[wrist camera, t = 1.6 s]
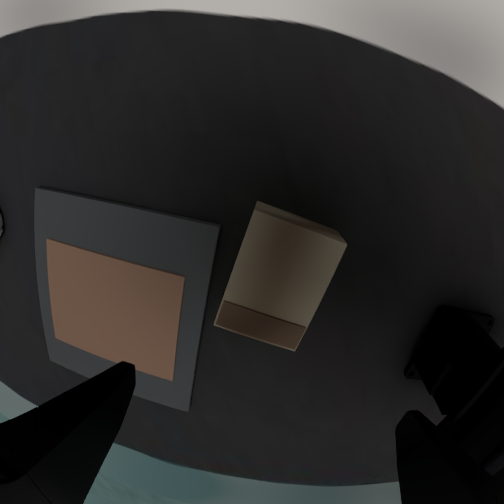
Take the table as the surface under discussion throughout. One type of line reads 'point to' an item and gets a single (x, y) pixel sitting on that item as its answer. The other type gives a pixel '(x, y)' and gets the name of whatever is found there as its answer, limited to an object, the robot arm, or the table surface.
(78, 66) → the table surface
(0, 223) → the grey rounded block
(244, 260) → the tan beveled box
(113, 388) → the robot arm
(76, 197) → the rubber mat
